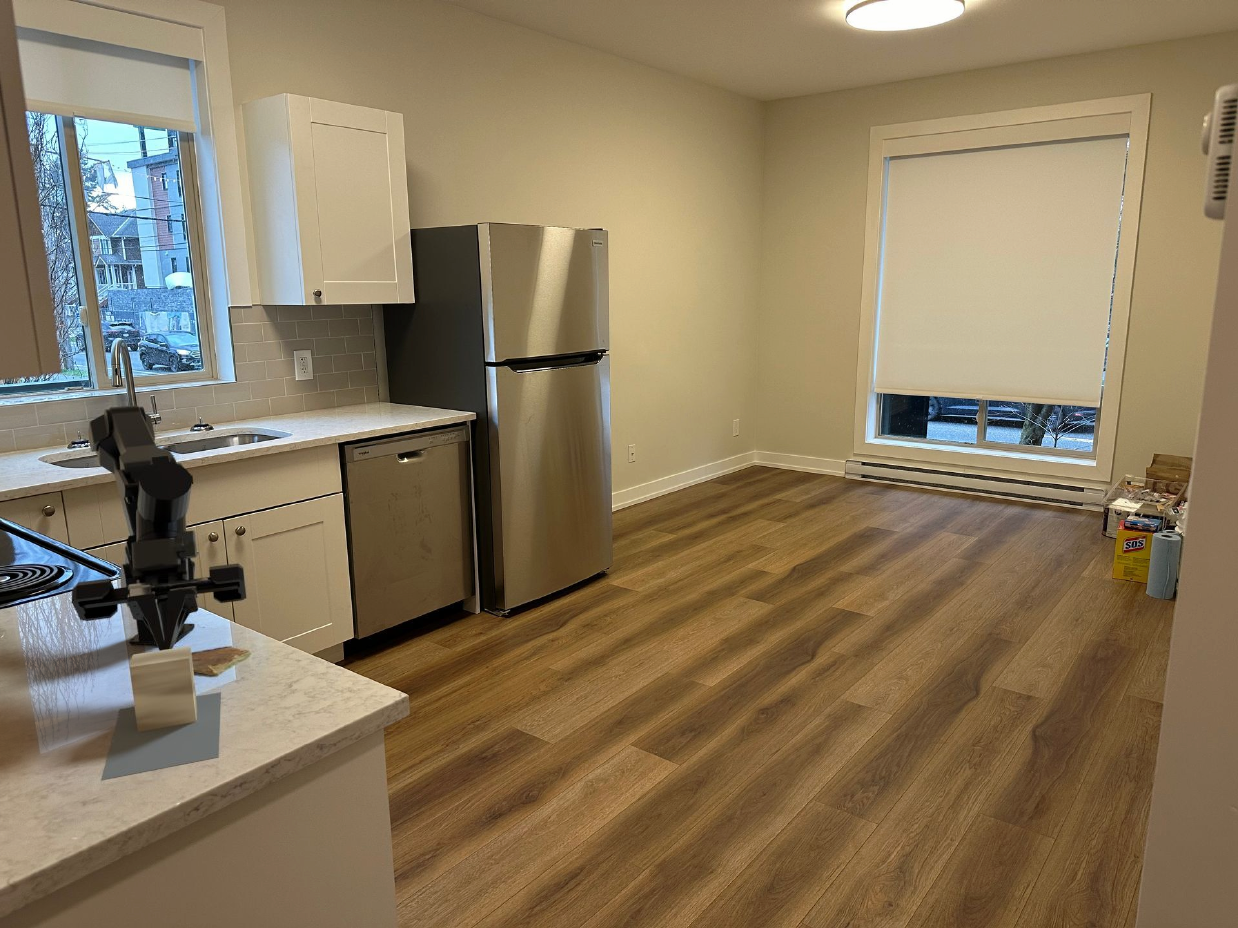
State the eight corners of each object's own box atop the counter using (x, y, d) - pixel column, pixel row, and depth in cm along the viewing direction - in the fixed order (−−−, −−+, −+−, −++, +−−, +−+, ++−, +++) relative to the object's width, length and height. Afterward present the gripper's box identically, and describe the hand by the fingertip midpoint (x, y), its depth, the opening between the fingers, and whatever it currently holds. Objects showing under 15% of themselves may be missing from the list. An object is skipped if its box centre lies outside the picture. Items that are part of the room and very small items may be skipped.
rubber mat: (120, 711, 103) (120, 708, 103) (221, 694, 107) (221, 691, 107) (102, 783, 89) (101, 779, 89) (218, 760, 93) (218, 756, 93)
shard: (150, 671, 115) (149, 659, 114) (194, 648, 122) (192, 636, 121) (217, 683, 111) (215, 670, 111) (257, 658, 119) (256, 646, 118)
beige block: (140, 717, 101) (132, 654, 99) (197, 707, 103) (190, 646, 102) (137, 731, 98) (129, 667, 96) (196, 721, 100) (189, 658, 98)
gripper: (63, 518, 100) (58, 642, 93) (237, 502, 108) (246, 615, 100) (82, 562, 109) (80, 678, 102) (242, 544, 116) (250, 652, 109)
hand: (165, 655), depth 103 cm, fingers closed
